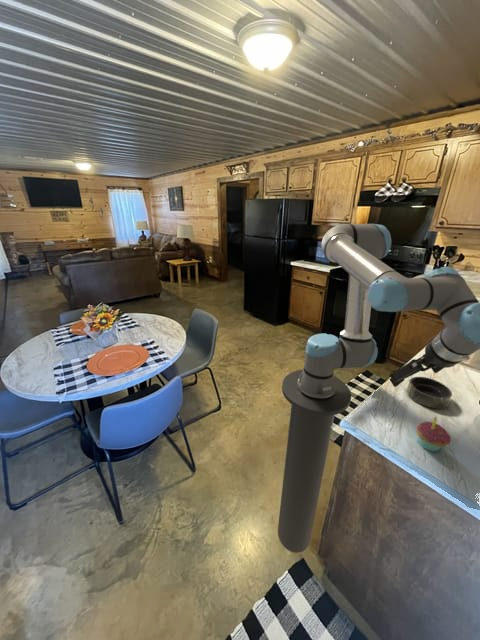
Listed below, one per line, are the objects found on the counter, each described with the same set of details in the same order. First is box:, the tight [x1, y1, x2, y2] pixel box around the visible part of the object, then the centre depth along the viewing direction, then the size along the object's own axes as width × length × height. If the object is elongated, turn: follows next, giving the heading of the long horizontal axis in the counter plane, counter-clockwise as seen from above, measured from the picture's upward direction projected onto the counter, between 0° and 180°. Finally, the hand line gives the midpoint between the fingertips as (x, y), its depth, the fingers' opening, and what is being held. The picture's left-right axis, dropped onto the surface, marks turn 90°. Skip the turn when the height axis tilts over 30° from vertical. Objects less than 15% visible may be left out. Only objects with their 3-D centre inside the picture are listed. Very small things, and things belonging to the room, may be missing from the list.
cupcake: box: [416, 415, 452, 452], centre depth 79 cm, size 9×8×12 cm
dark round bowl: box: [406, 376, 453, 410], centre depth 101 cm, size 13×13×5 cm
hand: (413, 376), depth 83 cm, fingers open, 13 cm apart
